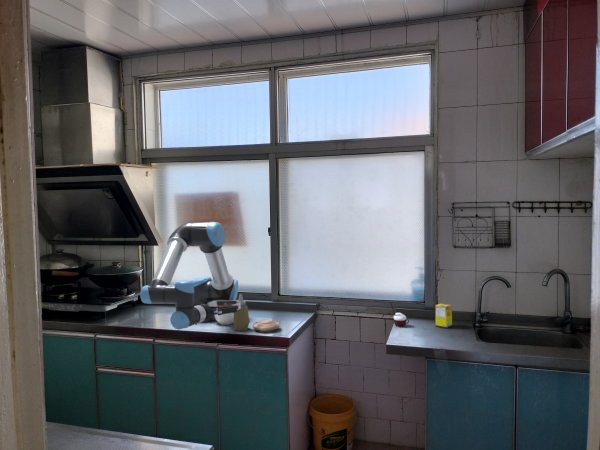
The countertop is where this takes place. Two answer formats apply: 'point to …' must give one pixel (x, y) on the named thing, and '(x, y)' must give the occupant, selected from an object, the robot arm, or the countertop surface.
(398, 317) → the cocoa
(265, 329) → the tan round disc
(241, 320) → the squeeze bottle
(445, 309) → the supplement box
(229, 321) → the lidded bowl
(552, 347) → the countertop surface
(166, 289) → the robot arm
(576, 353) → the countertop surface
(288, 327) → the countertop surface
